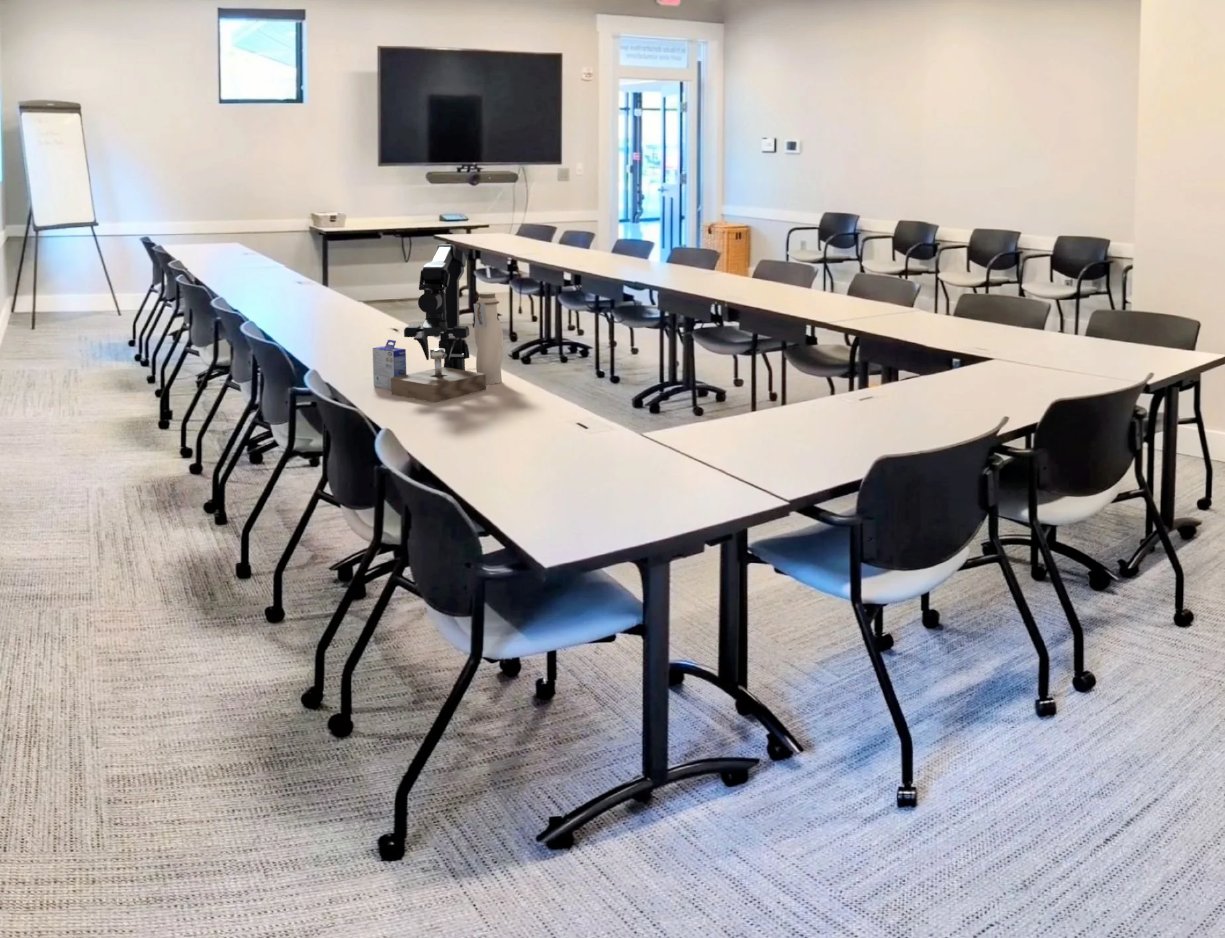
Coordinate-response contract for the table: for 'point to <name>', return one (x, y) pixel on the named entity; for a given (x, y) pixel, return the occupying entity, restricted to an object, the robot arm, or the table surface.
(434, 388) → the press block
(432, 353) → the plunger
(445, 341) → the robot arm
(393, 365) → the ink cartridge box
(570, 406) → the table surface
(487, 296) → the water bottle
